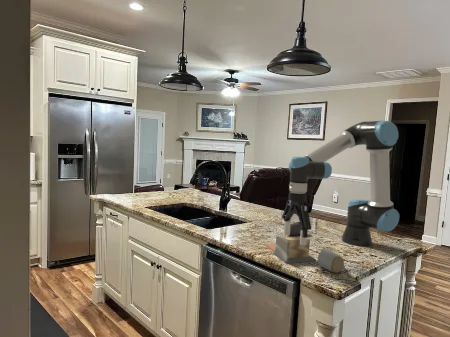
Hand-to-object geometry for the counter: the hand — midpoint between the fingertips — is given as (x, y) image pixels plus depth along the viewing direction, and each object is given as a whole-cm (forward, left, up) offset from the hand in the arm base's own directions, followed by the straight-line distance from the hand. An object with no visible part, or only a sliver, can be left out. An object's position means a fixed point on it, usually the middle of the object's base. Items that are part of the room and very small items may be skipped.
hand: (294, 239), depth 143 cm
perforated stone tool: (-22, -34, -9) cm, 41 cm away
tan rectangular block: (-1, 0, -7) cm, 7 cm away
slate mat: (-1, 0, -8) cm, 8 cm away
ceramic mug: (-10, +15, -9) cm, 20 cm away
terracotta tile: (-7, -12, -8) cm, 16 cm away
